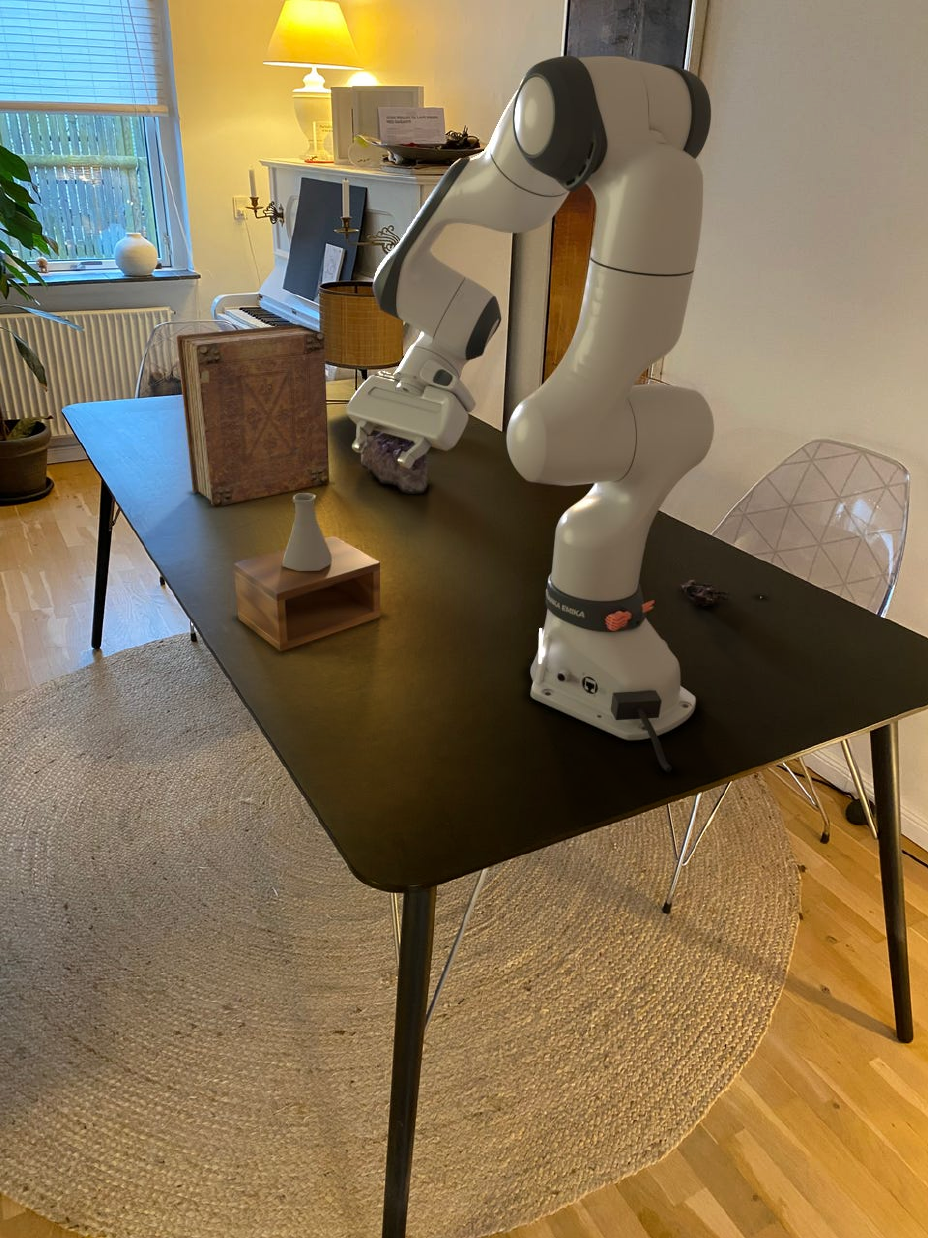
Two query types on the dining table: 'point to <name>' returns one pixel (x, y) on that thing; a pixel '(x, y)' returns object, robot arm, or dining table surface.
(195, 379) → the book
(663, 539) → the dining table surface
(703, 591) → the horse figurine
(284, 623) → the shelf
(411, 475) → the geode
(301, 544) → the flask
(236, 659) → the dining table surface
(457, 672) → the dining table surface
